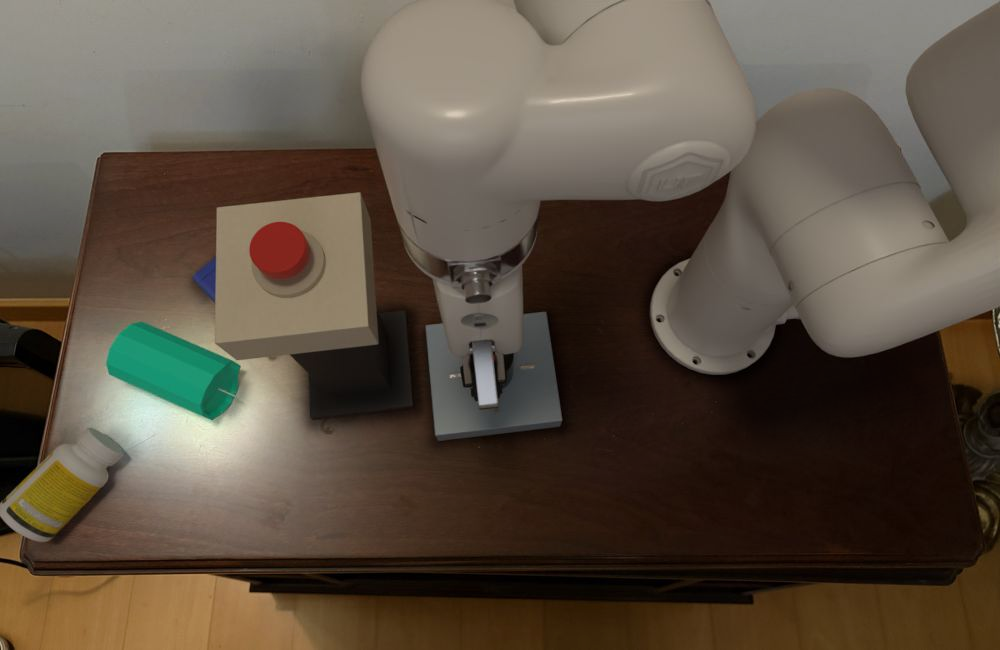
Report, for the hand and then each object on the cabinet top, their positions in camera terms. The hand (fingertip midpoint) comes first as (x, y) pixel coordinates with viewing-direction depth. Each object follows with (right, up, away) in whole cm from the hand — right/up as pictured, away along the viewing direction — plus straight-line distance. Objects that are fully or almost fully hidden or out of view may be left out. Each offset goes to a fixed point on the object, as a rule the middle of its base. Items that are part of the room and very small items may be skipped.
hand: (477, 320), depth 54 cm
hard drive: (-23, +3, +20) cm, 30 cm away
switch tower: (-12, -4, +17) cm, 22 cm away
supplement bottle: (-41, -19, +10) cm, 47 cm away
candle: (-35, -3, +15) cm, 38 cm away
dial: (+1, -5, +14) cm, 15 cm away
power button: (-12, +4, -7) cm, 15 cm away
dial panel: (+1, -6, +17) cm, 18 cm away
